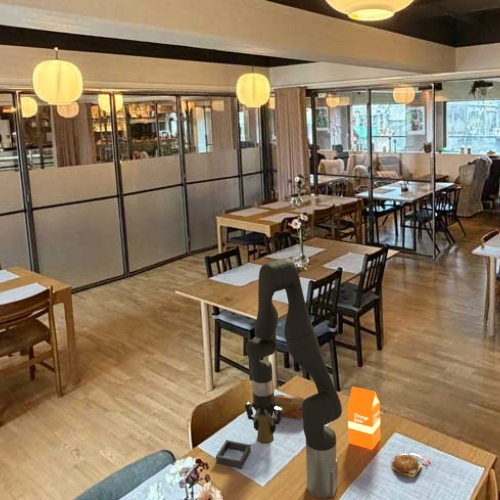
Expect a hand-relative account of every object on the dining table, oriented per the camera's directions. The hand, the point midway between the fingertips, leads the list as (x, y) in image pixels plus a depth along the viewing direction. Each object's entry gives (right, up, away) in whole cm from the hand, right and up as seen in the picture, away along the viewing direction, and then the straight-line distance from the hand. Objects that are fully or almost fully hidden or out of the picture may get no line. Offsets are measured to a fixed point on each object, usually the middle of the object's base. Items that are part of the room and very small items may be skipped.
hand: (265, 430), depth 196 cm
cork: (0, -3, +1) cm, 4 cm away
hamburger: (+48, -7, -16) cm, 51 cm away
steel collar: (-11, -7, -8) cm, 15 cm away
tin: (+10, +1, +14) cm, 17 cm away
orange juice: (+35, -3, -3) cm, 35 cm away
